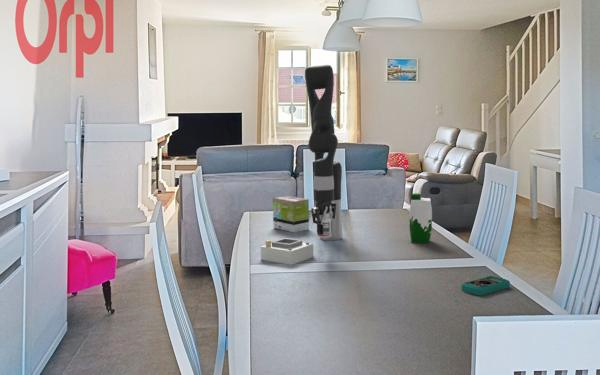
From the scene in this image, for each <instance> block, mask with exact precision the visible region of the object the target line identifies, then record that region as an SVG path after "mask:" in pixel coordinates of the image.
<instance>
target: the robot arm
mask: <svg viewBox="0 0 600 375" xmlns="http://www.w3.org/2000/svg"><path fill="white" fill-rule="evenodd" d="M304 79H305V87H306V93H307V98H308V99H307V100H308V103H309V112H310V113H309V114H310V124H311V125H310V127H311V134H310V136H309V140H308V149H309V151H310V152H312V153H314V162H313V200H314V201H315V202H316V205H315V207H311V217H312V219H311V220H312V223H313V224H316V233H317V235H318V234H323V220H324V219H325V216H326V213H329V214H330V216H329V218H330V219H331V230H332V236H331V237H328V238H321V237H319V239H320V240H324V241H337V240H338V241H339V240H341V239H342V237H343V224H342V223H343V219H342V218H343V216H342V178H343V175H342V174H343V173H342V172H343V169H342V164H341V163H340V162H339V161H334V159H335V155H336V151H337V148H338V145H339V144H338V143H339V141H338V137H337V135H336V134H335V122H334V117H333V115H332V107H333V106H332V104H333V97H334V96H333V95H334V86H335V85H334V83H335V76H334V71H333V67H332V65H331V64H321V65H318V64H317V65H310V66H306V68H305V70H304ZM316 90H324V92H322V93H323V94H322V95H321V97H320V98H319V96H318V94H317V91H316ZM325 154H327V155H326V156H325V157H324V155H325ZM319 214H320V215H322V216H319ZM320 218H321V221H320Z"/></svg>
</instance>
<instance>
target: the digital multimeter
mask: <svg viewBox="0 0 600 375" xmlns="http://www.w3.org/2000/svg"><path fill="white" fill-rule="evenodd" d="M509 288H511V281H510V280H508V279H507V278H503V277H499V276H494V275H490V276H486V277H483V278H482V277H481V278H478V279H475V280H471V281H466V282H464V283H462V284H461V291H462V292H464V293H468V294H471V295H475V296H479V297H480V296H484V295H487V294H492V293H495V292H498V291H501V290H506V289H509Z"/></svg>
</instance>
